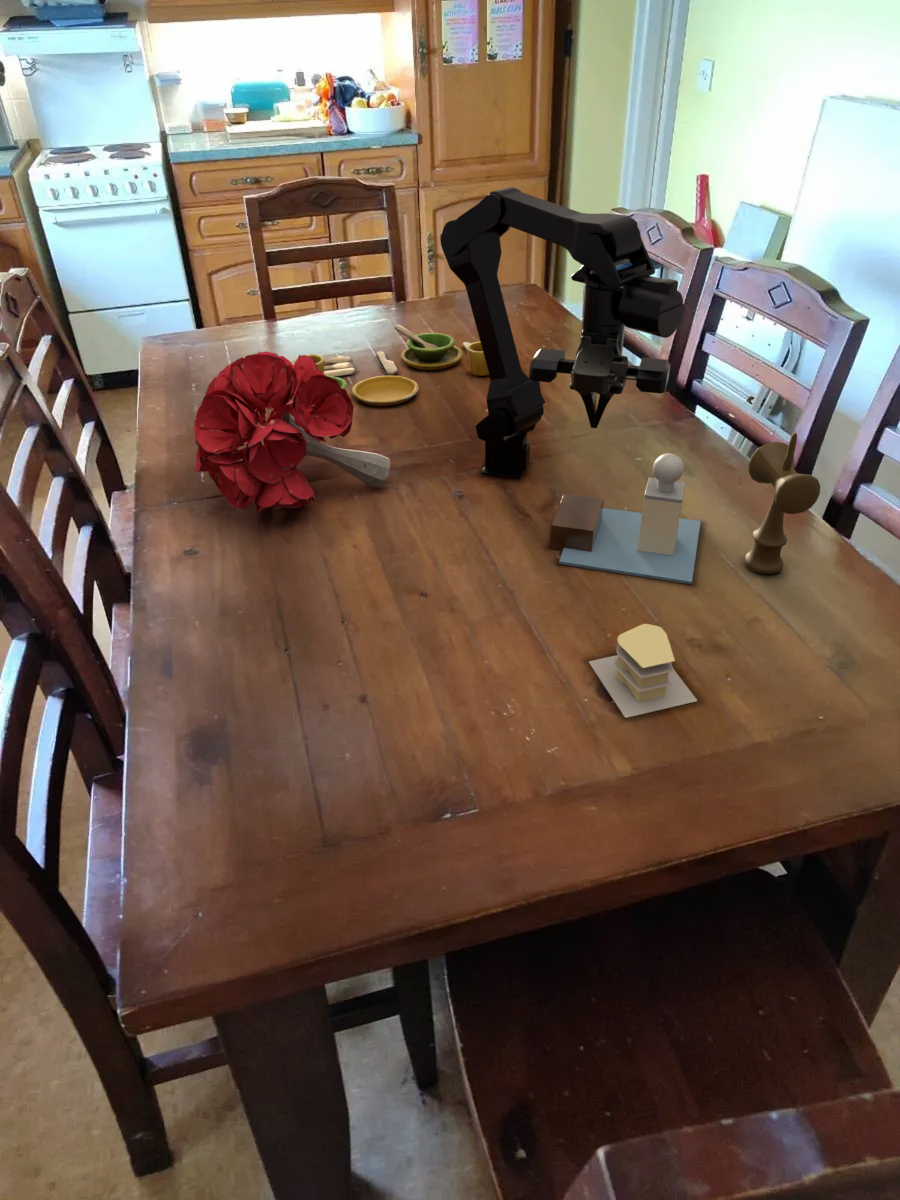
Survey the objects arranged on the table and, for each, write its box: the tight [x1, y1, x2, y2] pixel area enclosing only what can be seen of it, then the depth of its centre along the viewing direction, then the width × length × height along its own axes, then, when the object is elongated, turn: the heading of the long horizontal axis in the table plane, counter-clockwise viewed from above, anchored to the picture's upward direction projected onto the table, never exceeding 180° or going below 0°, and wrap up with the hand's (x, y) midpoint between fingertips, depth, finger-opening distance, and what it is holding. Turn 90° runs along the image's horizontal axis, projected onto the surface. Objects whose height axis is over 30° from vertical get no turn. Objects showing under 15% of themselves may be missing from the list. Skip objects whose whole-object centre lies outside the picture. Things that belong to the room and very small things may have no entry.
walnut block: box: [549, 493, 605, 552], centre depth 124 cm, size 6×9×4 cm, turn 163°
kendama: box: [744, 432, 821, 575], centre depth 112 cm, size 6×10×20 cm, turn 6°
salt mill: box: [637, 453, 687, 556], centre depth 118 cm, size 14×5×10 cm
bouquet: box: [193, 351, 391, 513], centre depth 129 cm, size 22×24×30 cm
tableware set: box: [292, 324, 490, 407], centre depth 171 cm, size 41×28×6 cm
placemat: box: [558, 507, 702, 585], centre depth 123 cm, size 18×16×1 cm
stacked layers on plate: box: [588, 623, 699, 719], centre depth 98 cm, size 10×9×6 cm
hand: (594, 427), depth 124 cm, fingers closed
